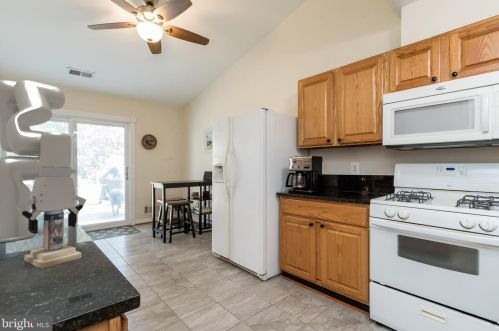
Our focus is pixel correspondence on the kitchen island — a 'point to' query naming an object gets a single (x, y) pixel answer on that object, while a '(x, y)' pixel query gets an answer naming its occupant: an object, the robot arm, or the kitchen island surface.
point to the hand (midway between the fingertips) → (53, 229)
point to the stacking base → (53, 261)
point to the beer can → (53, 230)
